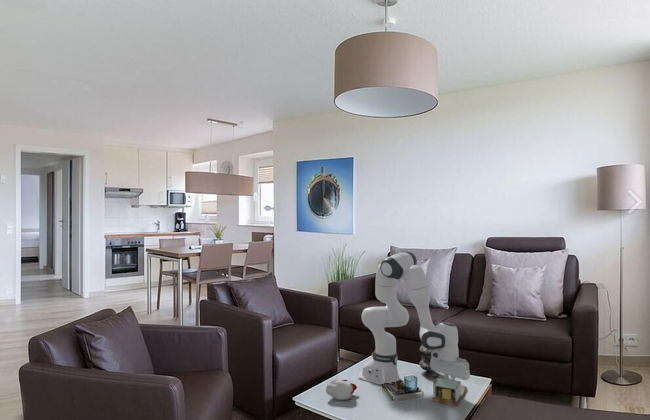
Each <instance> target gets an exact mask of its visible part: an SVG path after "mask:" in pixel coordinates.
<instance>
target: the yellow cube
mask: <svg viewBox="0 0 650 420" xmlns="http://www.w3.org/2000/svg"><path fill="white" fill-rule="evenodd" d="M442 398H445V399H451V389H450V388H444V387H442Z"/></svg>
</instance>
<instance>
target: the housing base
mask: <svg viewBox="0 0 650 420" xmlns="http://www.w3.org/2000/svg"><path fill="white" fill-rule="evenodd" d="M466 391H467V386H465V385H461V395H460V397H459V399H458V401H457V402H456V401H455V392H453V394H452V393H451V399H445V398H442V392H441V389H439V392H438V394H437V396H436V397H433V396H432V398H431V402H432V403H433V402H435V403H438V404H445V405H450V406H456V407H459V405H460V403H461V400H462V399H463V397H464V395H465V393H466Z"/></svg>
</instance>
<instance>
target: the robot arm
mask: <svg viewBox="0 0 650 420" xmlns="http://www.w3.org/2000/svg"><path fill="white" fill-rule="evenodd" d="M417 263H418V260H417V257H416V255H415V254H414V253H413V252H411V251H402V252H398V253H395V254H392V255H391V256H388V257H385V259H383V260H382V261H381V262H380V264H378V265H377V268H376V274H375V284H374V285H375V286H374V287H375V288H374V289H375V293H374V294H375V297H376V299H377V300H378V301H380V302H382V303H384V304H386V305H384V306H371V307H370V306H369V307H366V308H364V309H363V310H362V313H361V321H362V324H363V325H364V326H365V327H366V328H368V329H369V330H370V331H371V333H372V335H373V338H374V343H375V345H374V346H375V350H374V351H373V352H372V353H371V357H372V358H371V359H369V360H368V361H367V362H365V363H364V365H363V366H362V371H361V372H358V373H359V374H358V376H357V378H358V379H359V380H362V381H365V382H369V383H373V384H377V385H380V386H381V384H383V383H387V382H395V381H398V380H399V381H400V380H401V378H400V375H399V369H398V353H397V340H396V339H397V338H396V337H395V336H394V335H393V334H391V333H390V332H388V331H386V330H385V329H386V328H397V327H399V328H400V327H404V326H406V325H407V324H408V322H409V319H410V314H409V311H408V309H407V308H406V307H404V306H403V305H402V304H401V303H400V302H399V300H398V297H397V280H400V279H402V280H403V281H404V284H405V287H406V291H407V295H408V297H409V300H410V302H411V303H412V305H413V306H414V307H415V309H416V312H417V315H418V316H417V317H418V321H419V329H418V330H419V331H418V335H419V339H420V342H421V345H423V346H424V347H425V348H427V349H429V350H434V349H440V350H437V351H434V352H432V353H431V356H432V357H431V363H430V366H431V369H432V370H433V371H435V372H437V373H439V374H440V373H441V374H443V376H444V379H450V378H451V379H450V380H456V378H457V379H461V380H463V381H467V380H469V379H470V378H471V371H470V363H469V362H468V361H467V359H464V358H460V357H459V356H460V355H459V345H458V344H459V333H458V332H459V331H458V328H457V326H456V325H455V324H454V323H452V322H450V321H441V322H440V323H438V324H437V325H435V324H434V322H433V319H432V315H431V311H430V306H429V305H430V301H431V290H430V289H431V288H430V286H429V285H430V284H429V282H428V278H427V275H426V273H425V271H424V269H423V267H422V266H420V265H417ZM449 376H450V378H449ZM399 381H398V382H399ZM395 383H396V382H395ZM383 385H384V384H383Z"/></svg>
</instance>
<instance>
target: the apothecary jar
mask: <svg viewBox="0 0 650 420" xmlns="http://www.w3.org/2000/svg"><path fill="white" fill-rule="evenodd" d="M437 350H440V349H434V350H429V349H427V348H425V347H424V346H423V345H422V344H421V346H419V351H420V353H421V360H420V361H419V367H420V368H421V369H422V370H424V371H422V372H421V375H422V377H424V378H427V377H428V378H427V379H435V378H436V379H437V378H441V377H440V376H441V374H440V372H437V371H433V370H432V369H431V366H430V363H431V357H432V356H431V353H432V352H434V351H437Z"/></svg>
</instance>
